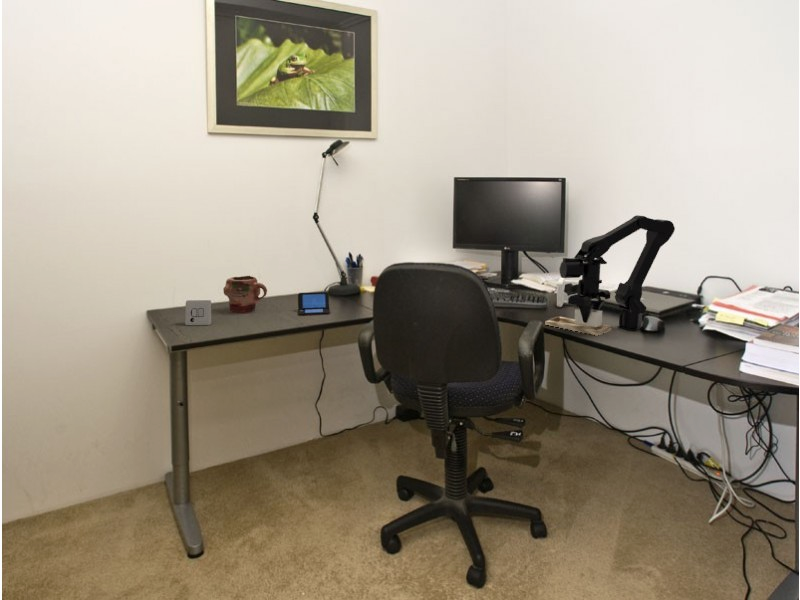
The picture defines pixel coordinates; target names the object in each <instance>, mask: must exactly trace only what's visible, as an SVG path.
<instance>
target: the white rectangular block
mask: <svg viewBox="0 0 800 600" xmlns="http://www.w3.org/2000/svg"><path fill="white" fill-rule="evenodd" d="M574 319H575V323H576V324H581V325H586V326H591V327H598V326H601V325H602V323H603V322H602V321H603V310H600V309H599V310H593V309H592V310H591V313H590V316H589V318H588V321H587V323H584V322H583V319H582V315H581V312H580V309H579V307H578V308H575V310H574Z"/></svg>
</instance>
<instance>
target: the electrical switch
mask: <svg viewBox="0 0 800 600" xmlns="http://www.w3.org/2000/svg"><path fill="white" fill-rule="evenodd" d="M212 305H213V303H212V300H210V299H209V300H208V299H207V300H206V299H205V300H204V299H201V300H200V299H199V300H198V299H197V300H196V299H195V300H193V299H191V300H186V301H185V313H184V314H185V317H184V319H185V320H184V321H185V323H184V324H185V326H188V325H189V326H211V324H212V311H213V310H212V307H213V306H212Z"/></svg>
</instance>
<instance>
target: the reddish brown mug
mask: <svg viewBox="0 0 800 600" xmlns="http://www.w3.org/2000/svg"><path fill="white" fill-rule="evenodd" d="M222 289H223V294H224V296H226V297H227V298H228V300H229V303H228V306H229V311H230V312H231V313H235V314H248V313H251V312H254V311H255V309H256V304H257V303H259V302H260V301H262V300H263V299H264V298H266V296H267V294H268V293H267V292H268V289H267V287H266V285H265V284H264V283H261V282H258V279H257V278H256V277H255V276H251V275H244V276H243V275H242V276H233V277H230V278H227V279H226V281H225V286H224V287H223V288H222ZM261 289H262V292H263V294H262V296H260V295H261ZM259 296H260V297H259Z"/></svg>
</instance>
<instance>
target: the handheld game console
mask: <svg viewBox="0 0 800 600" xmlns="http://www.w3.org/2000/svg"><path fill="white" fill-rule="evenodd" d="M297 308H298V309H297V310H298V313H297V314H298V317H299V316H300V317H302V316H303V317H304V316H325V315H327V316H328V315H330V314H331V311H330V295H329V292H325V291H324V292H323V291H321V292H320V291H319V292H316V291H315V292H299V293H298V294H297Z"/></svg>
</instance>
